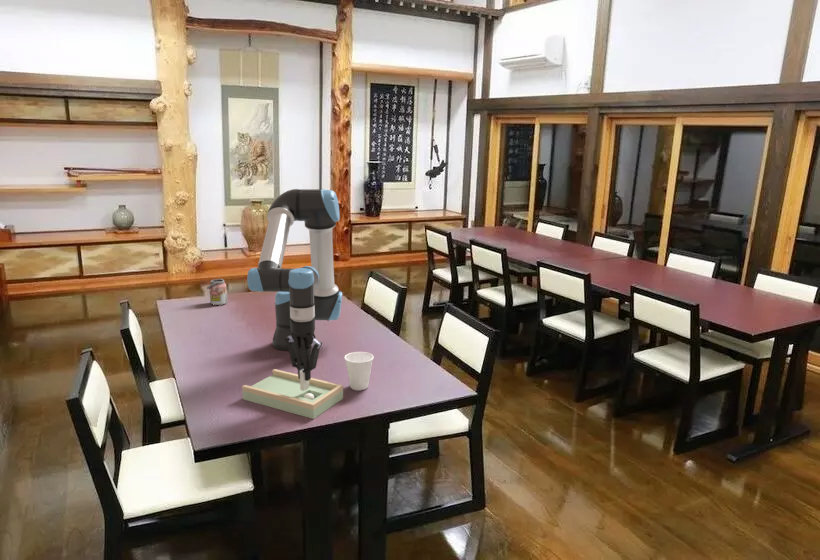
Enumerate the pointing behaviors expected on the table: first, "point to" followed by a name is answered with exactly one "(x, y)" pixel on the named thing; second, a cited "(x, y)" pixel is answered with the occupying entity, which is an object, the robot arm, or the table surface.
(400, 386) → the table surface
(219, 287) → the beverage can
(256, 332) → the table surface
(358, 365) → the cup
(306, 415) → the green tray with hole
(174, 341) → the table surface
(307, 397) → the ball
